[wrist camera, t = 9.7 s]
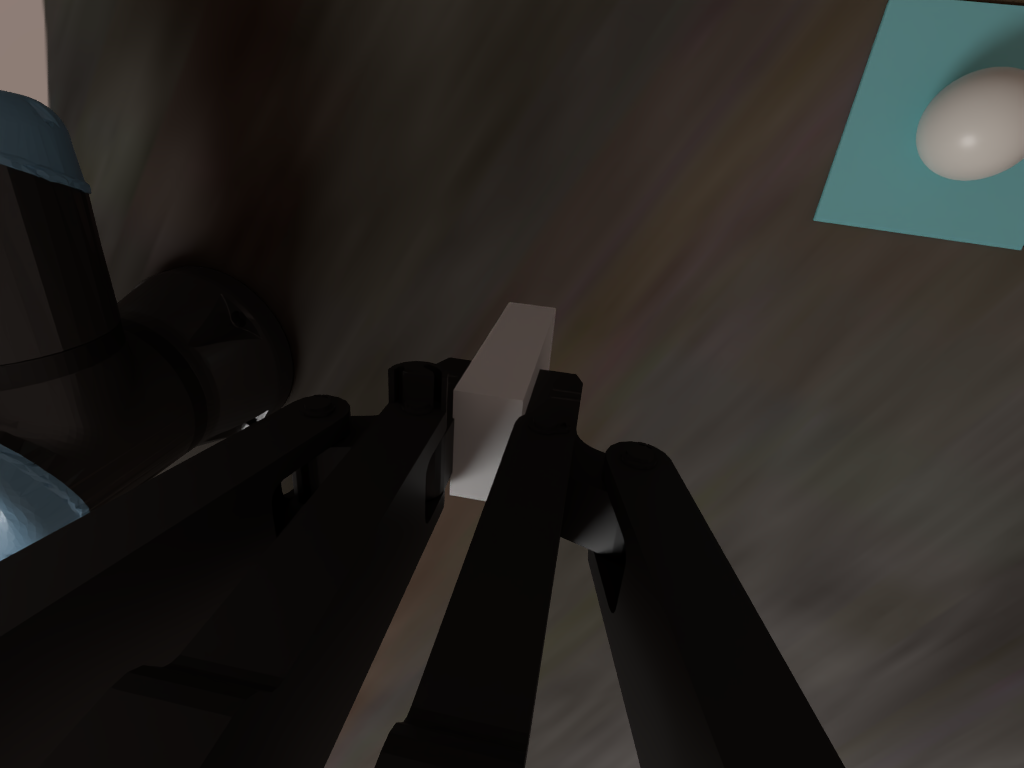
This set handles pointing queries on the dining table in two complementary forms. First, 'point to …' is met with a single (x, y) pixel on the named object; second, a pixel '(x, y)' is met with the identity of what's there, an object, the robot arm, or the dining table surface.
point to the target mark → (895, 117)
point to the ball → (974, 125)
